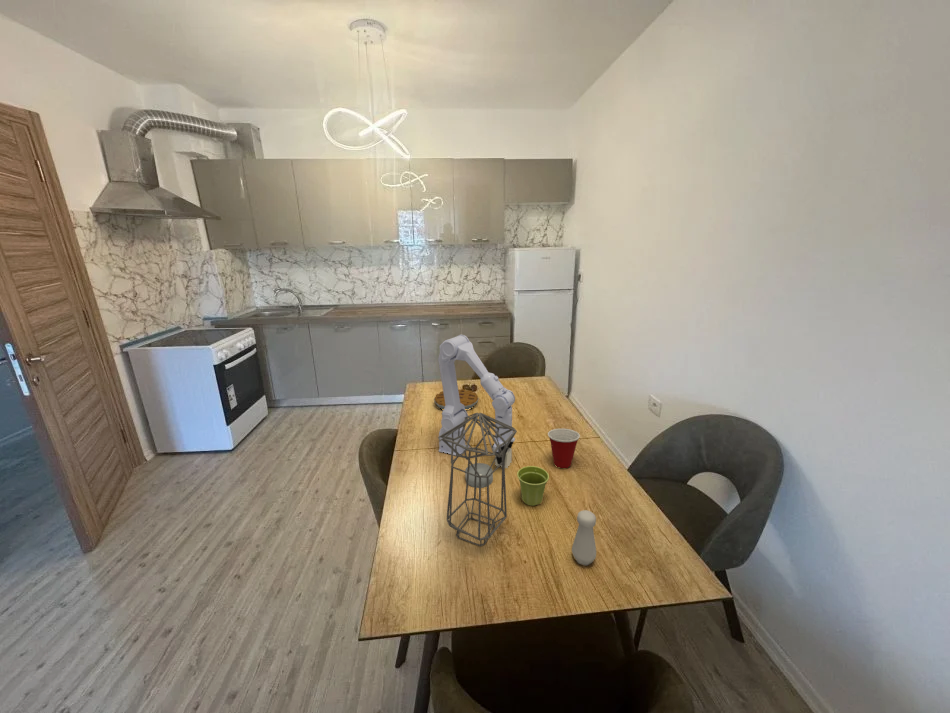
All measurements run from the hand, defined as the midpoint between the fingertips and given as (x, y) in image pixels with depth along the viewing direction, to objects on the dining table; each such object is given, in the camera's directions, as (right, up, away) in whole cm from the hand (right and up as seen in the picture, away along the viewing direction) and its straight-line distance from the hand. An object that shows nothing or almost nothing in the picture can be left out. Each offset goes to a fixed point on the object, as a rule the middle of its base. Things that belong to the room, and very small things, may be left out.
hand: (503, 460), depth 134 cm
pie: (-19, +13, +52) cm, 57 cm away
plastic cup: (+21, -1, 0) cm, 21 cm away
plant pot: (+7, -7, -19) cm, 21 cm away
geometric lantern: (-9, -11, -32) cm, 35 cm away
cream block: (0, -1, 0) cm, 1 cm away
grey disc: (-9, -4, -8) cm, 13 cm away
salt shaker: (+17, -13, -41) cm, 46 cm away
